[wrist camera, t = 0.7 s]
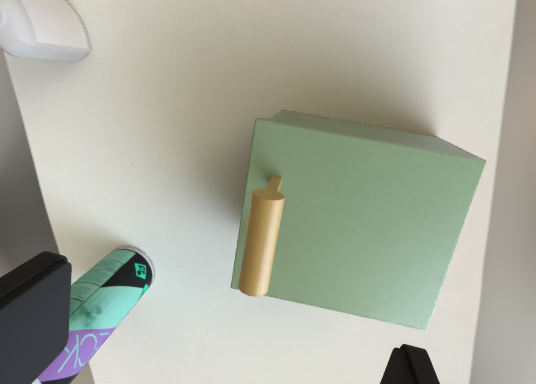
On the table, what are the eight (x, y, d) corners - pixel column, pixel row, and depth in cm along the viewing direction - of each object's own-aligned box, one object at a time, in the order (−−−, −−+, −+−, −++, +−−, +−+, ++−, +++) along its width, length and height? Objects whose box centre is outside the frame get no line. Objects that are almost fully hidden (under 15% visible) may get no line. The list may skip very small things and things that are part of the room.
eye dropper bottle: (87, -6, 32) (-41, -53, 21) (93, 62, 34) (-22, 54, 22) (41, -7, 32) (-110, -53, 21) (49, 61, 34) (-86, 51, 23)
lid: (232, 282, 28) (210, 335, 22) (257, 117, 24) (238, 130, 18) (423, 323, 27) (451, 390, 21) (481, 158, 23) (535, 184, 17)
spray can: (112, 291, 41) (-68, 475, 22) (102, 246, 39) (-101, 401, 20) (159, 291, 40) (14, 483, 21) (150, 245, 38) (-15, 407, 19)
